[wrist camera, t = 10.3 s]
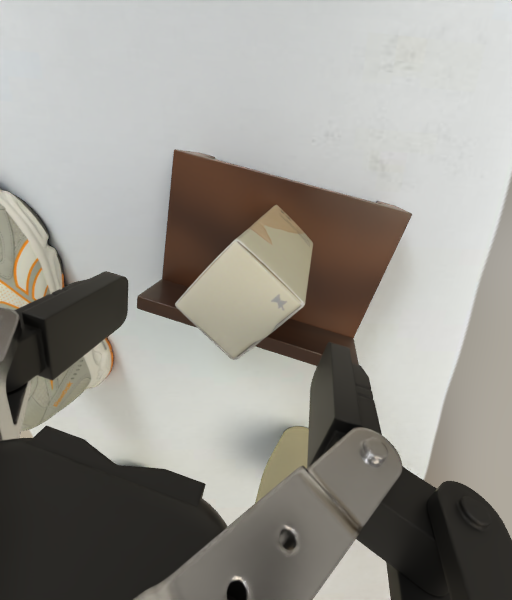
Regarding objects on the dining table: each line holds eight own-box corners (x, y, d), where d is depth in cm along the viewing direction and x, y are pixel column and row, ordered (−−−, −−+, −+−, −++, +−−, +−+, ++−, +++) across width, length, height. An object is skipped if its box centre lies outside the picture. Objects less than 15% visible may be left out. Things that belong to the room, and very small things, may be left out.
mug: (258, 453, 41) (237, 554, 30) (277, 405, 36) (260, 503, 26) (332, 479, 40) (338, 593, 29) (361, 433, 35) (379, 547, 25)
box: (276, 202, 21) (240, 231, 12) (315, 243, 22) (312, 303, 12) (232, 249, 24) (169, 307, 14) (268, 285, 24) (233, 365, 14)
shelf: (198, 152, 26) (144, 145, 18) (395, 205, 24) (433, 223, 16) (183, 272, 31) (136, 308, 23) (344, 321, 30) (353, 378, 22)
